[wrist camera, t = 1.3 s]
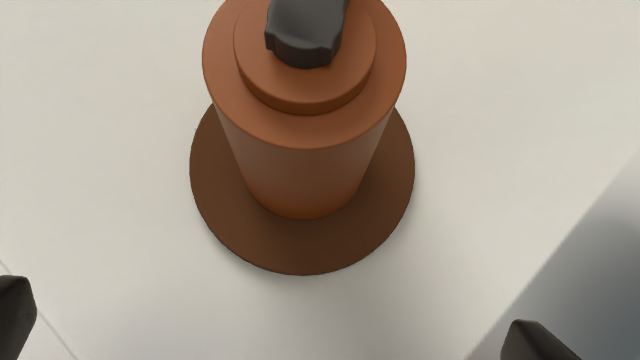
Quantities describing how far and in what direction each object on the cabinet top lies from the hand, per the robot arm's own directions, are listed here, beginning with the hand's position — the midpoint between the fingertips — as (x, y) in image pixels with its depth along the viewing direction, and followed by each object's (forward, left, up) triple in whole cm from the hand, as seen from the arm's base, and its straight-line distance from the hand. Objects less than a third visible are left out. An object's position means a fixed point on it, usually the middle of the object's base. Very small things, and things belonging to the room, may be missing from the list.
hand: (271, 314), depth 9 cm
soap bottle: (+7, +1, -13) cm, 15 cm away
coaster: (+7, +1, -13) cm, 15 cm away
